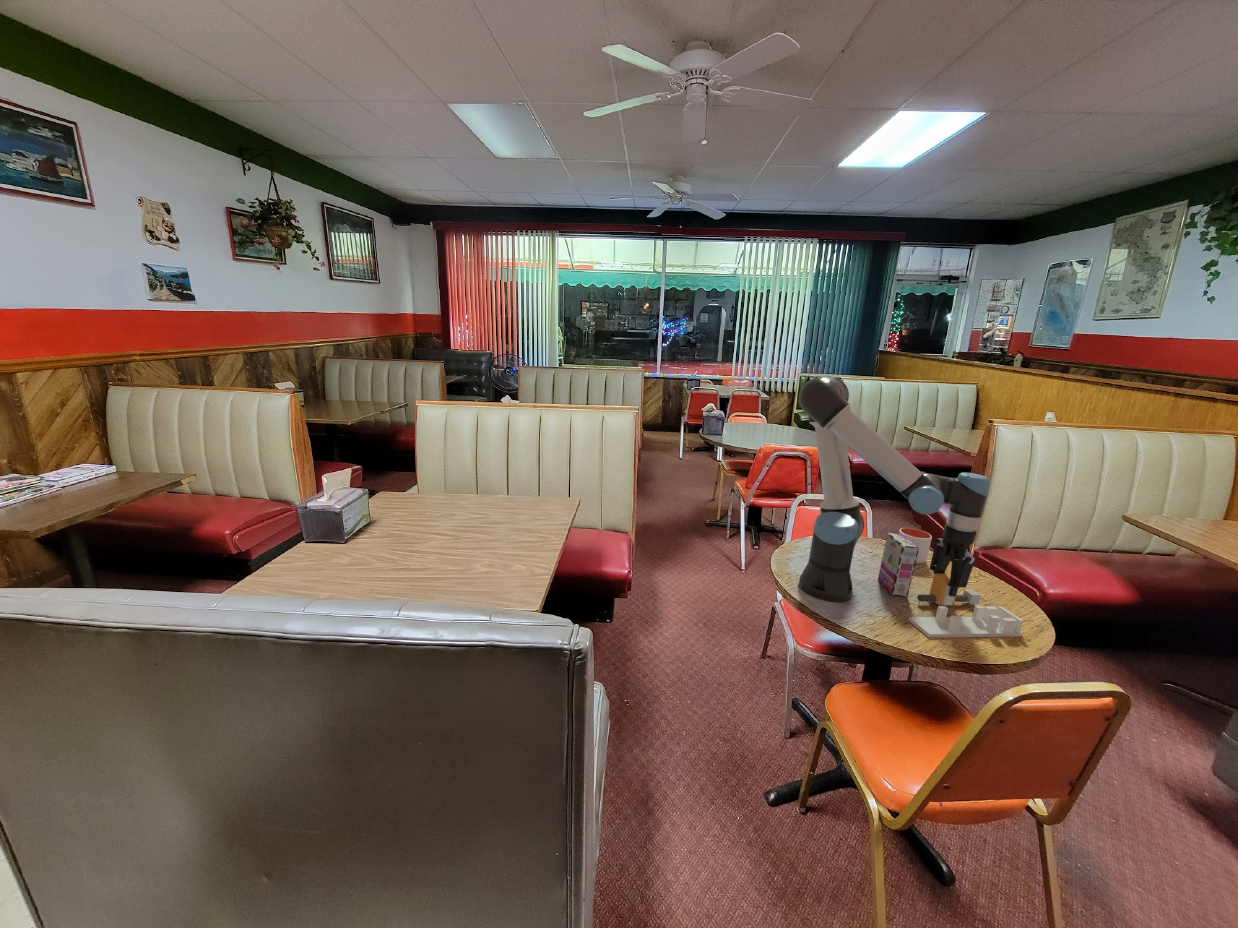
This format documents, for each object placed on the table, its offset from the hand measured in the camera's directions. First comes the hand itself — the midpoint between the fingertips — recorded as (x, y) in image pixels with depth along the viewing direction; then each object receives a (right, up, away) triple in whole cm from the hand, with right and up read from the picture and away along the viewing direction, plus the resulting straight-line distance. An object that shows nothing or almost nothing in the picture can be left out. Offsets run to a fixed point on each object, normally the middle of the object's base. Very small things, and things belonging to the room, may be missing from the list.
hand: (940, 599), depth 145 cm
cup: (+9, +6, +31) cm, 33 cm away
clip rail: (-1, -4, -12) cm, 13 cm away
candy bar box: (-10, +1, +9) cm, 13 cm away
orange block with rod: (+2, 0, 0) cm, 2 cm away
